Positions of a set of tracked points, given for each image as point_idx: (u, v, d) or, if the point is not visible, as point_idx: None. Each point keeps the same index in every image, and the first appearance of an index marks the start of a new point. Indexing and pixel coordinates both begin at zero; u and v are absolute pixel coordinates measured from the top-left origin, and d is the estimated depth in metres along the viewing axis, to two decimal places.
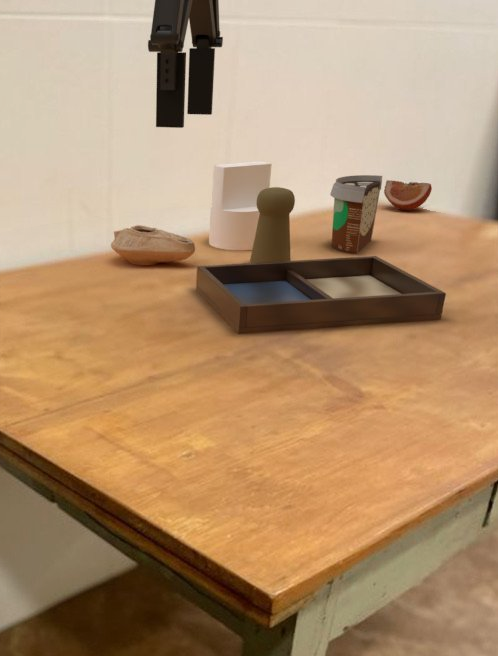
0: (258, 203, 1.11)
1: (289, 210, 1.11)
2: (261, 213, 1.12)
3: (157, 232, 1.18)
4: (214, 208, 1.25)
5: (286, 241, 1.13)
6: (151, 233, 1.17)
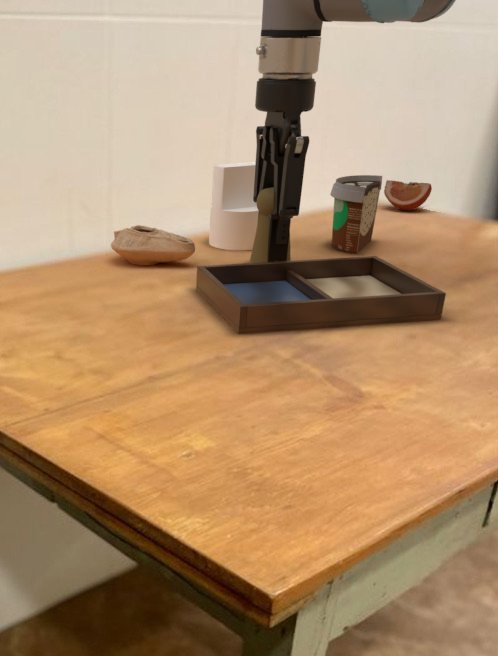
0: (258, 203, 1.11)
1: None
2: (261, 213, 1.12)
3: (157, 232, 1.18)
4: (214, 208, 1.25)
5: None
6: (151, 233, 1.17)
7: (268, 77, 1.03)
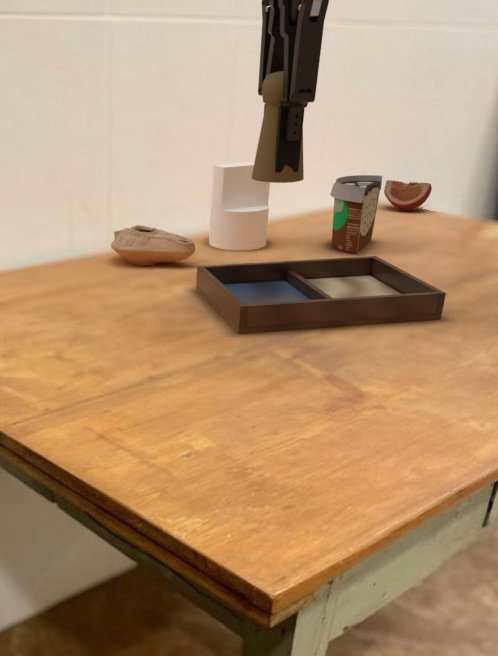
0: (264, 90, 0.90)
1: None
2: (267, 103, 0.90)
3: (157, 232, 1.17)
4: (214, 208, 1.25)
5: None
6: (151, 233, 1.17)
7: None
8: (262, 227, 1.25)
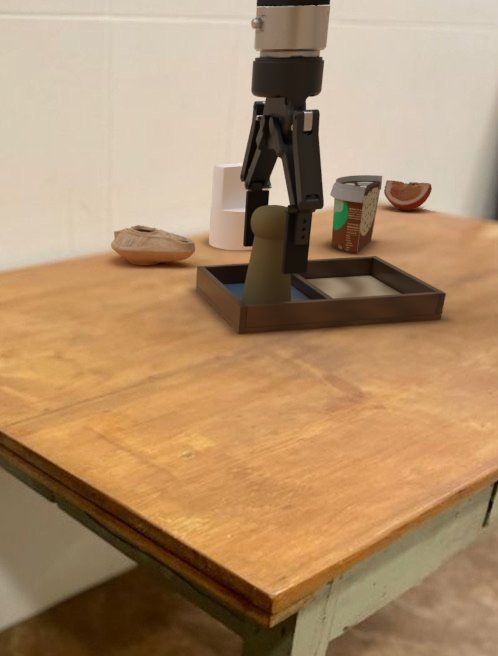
0: (253, 224, 0.95)
1: None
2: (256, 235, 0.95)
3: (157, 232, 1.17)
4: (214, 208, 1.25)
5: None
6: (151, 233, 1.17)
7: (266, 55, 0.85)
8: None
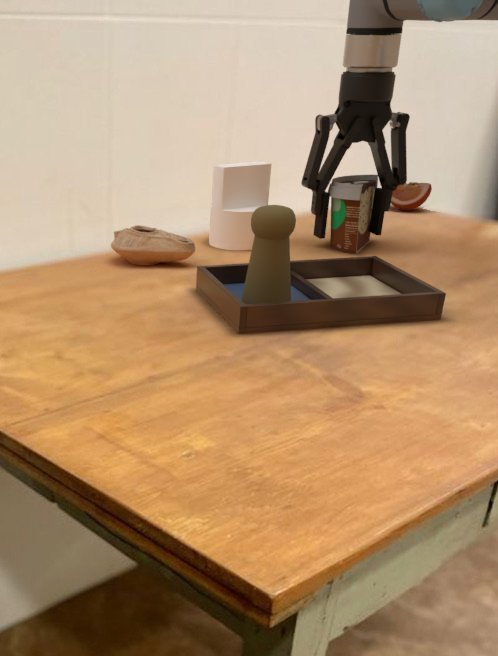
0: (253, 224, 0.95)
1: (289, 232, 0.94)
2: (256, 235, 0.95)
3: (157, 232, 1.18)
4: (214, 208, 1.25)
5: (286, 267, 0.96)
6: (151, 233, 1.17)
7: None
8: None
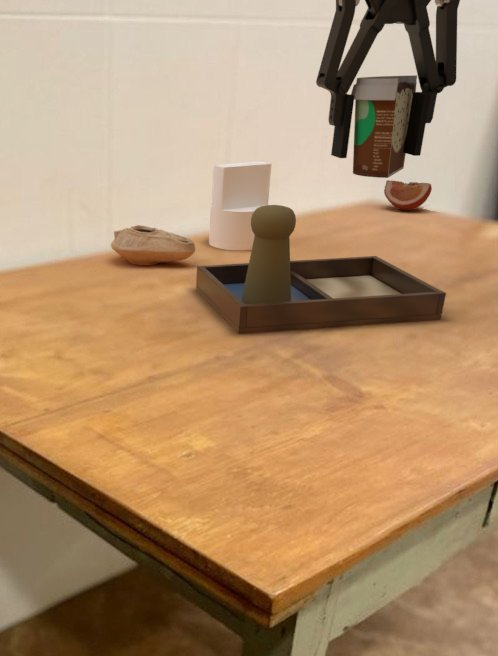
0: (253, 224, 0.95)
1: (289, 232, 0.94)
2: (256, 235, 0.95)
3: (157, 232, 1.17)
4: (214, 208, 1.25)
5: (286, 267, 0.96)
6: (151, 233, 1.17)
7: None
8: None
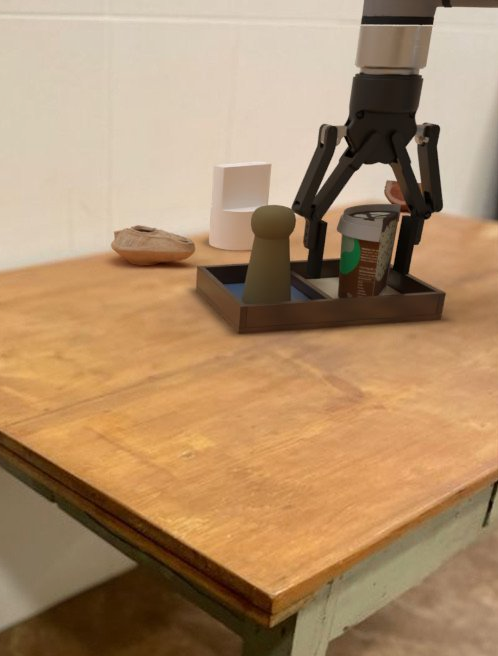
0: (253, 224, 0.95)
1: (289, 232, 0.94)
2: (256, 235, 0.95)
3: (157, 232, 1.18)
4: (214, 208, 1.25)
5: (286, 267, 0.96)
6: (151, 233, 1.17)
7: None
8: None
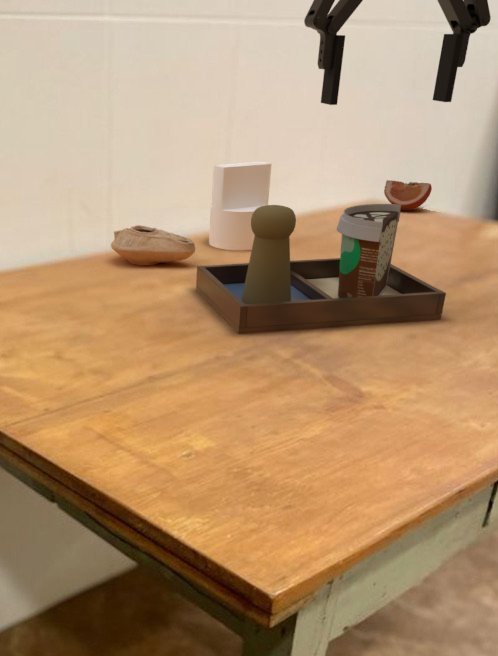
0: (253, 224, 0.95)
1: (289, 232, 0.94)
2: (256, 235, 0.95)
3: (157, 232, 1.18)
4: (214, 208, 1.25)
5: (286, 267, 0.96)
6: (151, 233, 1.17)
7: None
8: None
